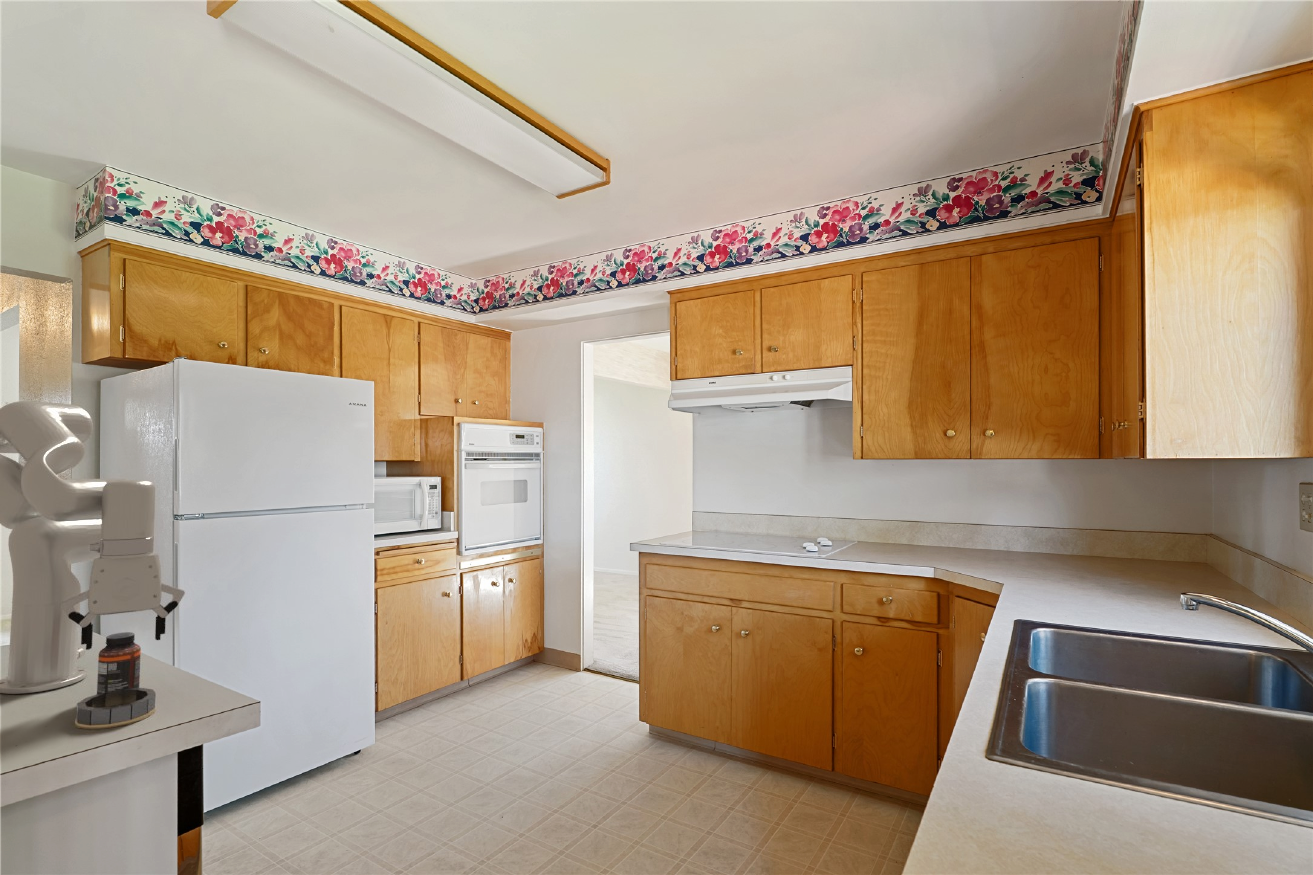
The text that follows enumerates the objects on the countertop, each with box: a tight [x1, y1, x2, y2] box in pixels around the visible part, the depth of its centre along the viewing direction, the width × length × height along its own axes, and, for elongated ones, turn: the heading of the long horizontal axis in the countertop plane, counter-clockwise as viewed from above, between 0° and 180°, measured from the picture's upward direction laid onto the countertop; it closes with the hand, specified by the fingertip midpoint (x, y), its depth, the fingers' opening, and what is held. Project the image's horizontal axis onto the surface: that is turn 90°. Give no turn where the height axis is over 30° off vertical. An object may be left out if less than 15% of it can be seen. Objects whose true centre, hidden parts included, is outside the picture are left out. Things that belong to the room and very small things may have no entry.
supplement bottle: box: [96, 631, 142, 694], centre depth 117 cm, size 6×6×11 cm
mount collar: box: [74, 687, 156, 730], centre depth 109 cm, size 10×10×3 cm
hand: (124, 643), depth 117 cm, fingers open, 9 cm apart
